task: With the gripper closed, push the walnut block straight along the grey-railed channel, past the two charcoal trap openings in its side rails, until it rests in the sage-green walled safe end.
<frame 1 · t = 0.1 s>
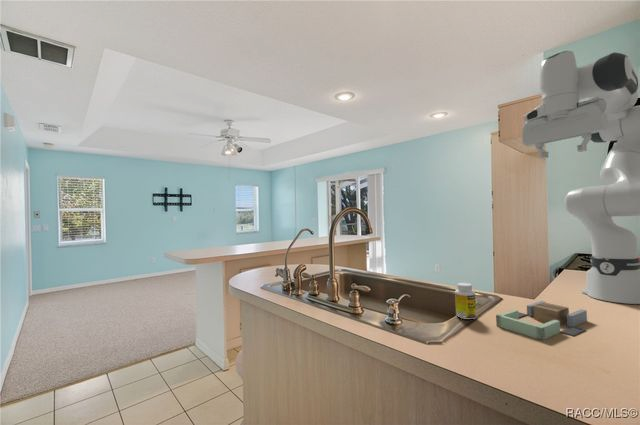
hand: (562, 154, 88), 48 cm above the counter, tool pointing down, fingers open, 8 cm apart
walnut block: (551, 320, 85), on the counter
supplement bottle: (466, 318, 90), on the counter
trap channel: (541, 323, 83), on the counter
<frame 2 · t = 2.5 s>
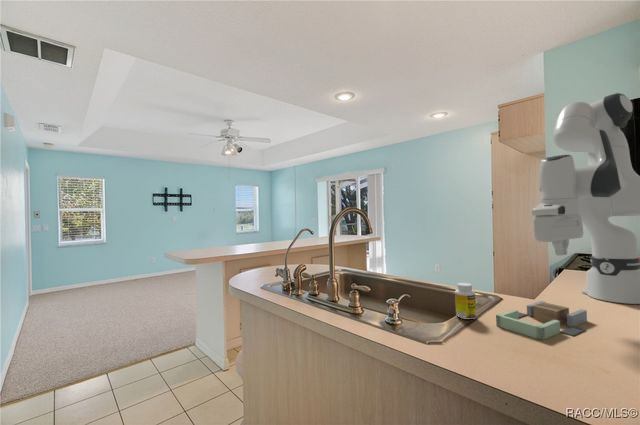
hand: (561, 255, 89), 18 cm above the counter, tool pointing down, fingers closed
nothing on the counter moved.
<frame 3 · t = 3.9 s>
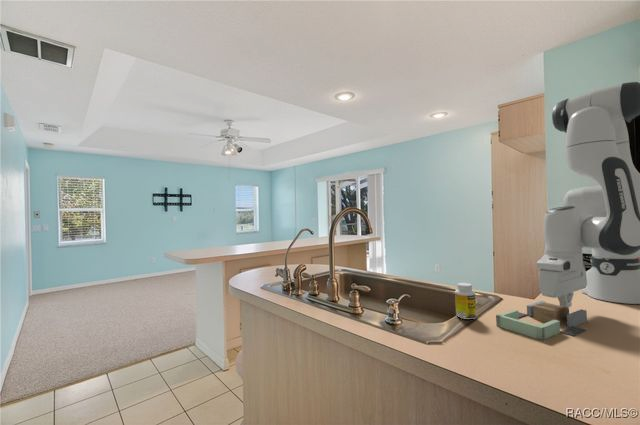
hand: (565, 307, 88), 2 cm above the counter, tool pointing down, fingers closed
nothing on the counter moved.
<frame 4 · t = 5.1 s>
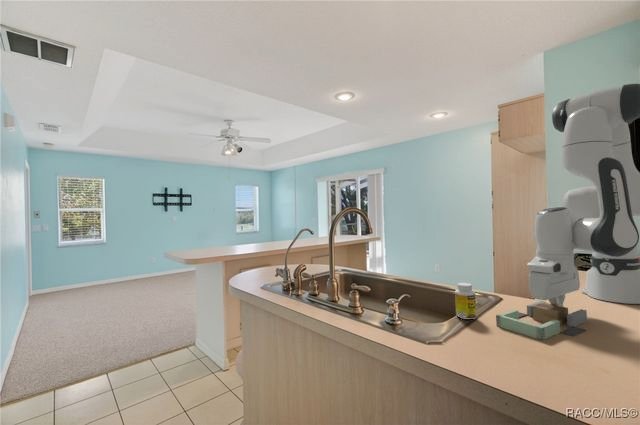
hand: (557, 309, 87), 2 cm above the counter, tool pointing down, fingers closed
walnut block: (550, 320, 85), on the counter, touching gripper
everything else where it was.
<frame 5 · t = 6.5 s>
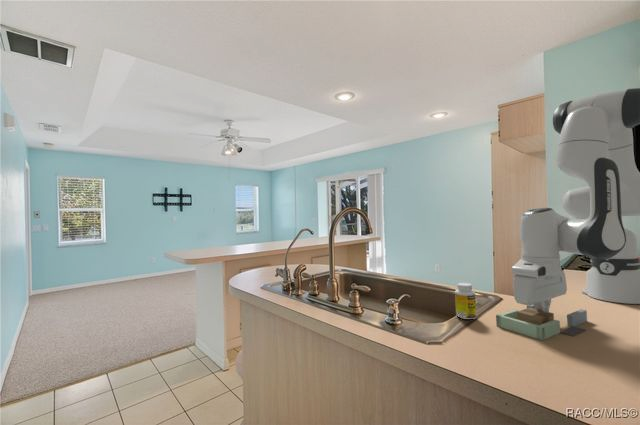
hand: (542, 315, 84), 2 cm above the counter, tool pointing down, fingers closed
walnut block: (535, 327, 81), on the counter, touching gripper
everything else where it was.
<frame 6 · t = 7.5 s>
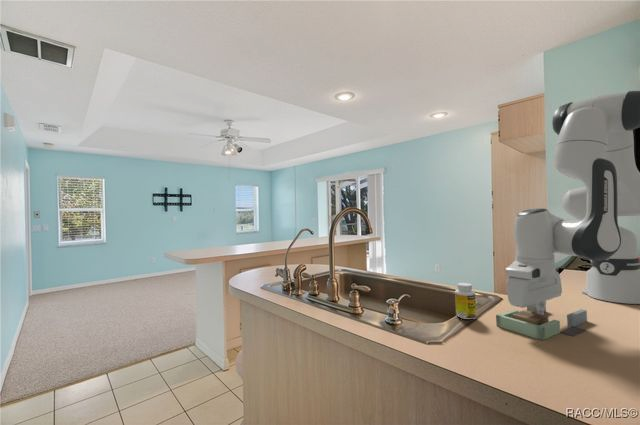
hand: (537, 317, 82), 2 cm above the counter, tool pointing down, fingers closed
walnut block: (530, 329, 80), on the counter
everything else where it was.
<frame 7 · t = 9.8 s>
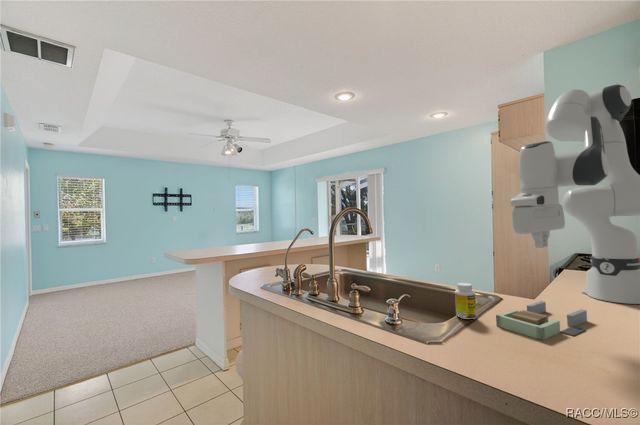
hand: (541, 247, 85), 21 cm above the counter, tool pointing down, fingers closed
nothing on the counter moved.
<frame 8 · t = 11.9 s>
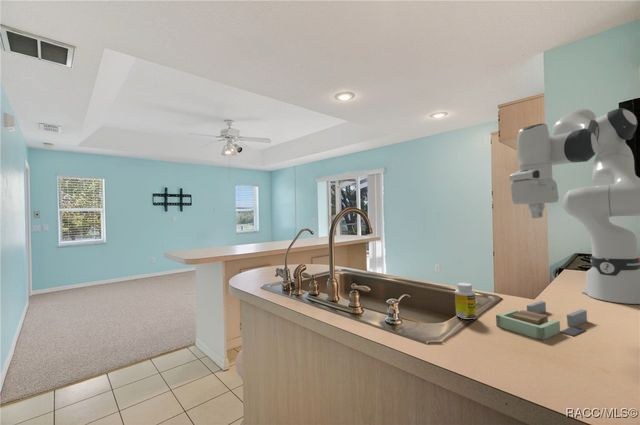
hand: (537, 217, 95), 29 cm above the counter, tool pointing down, fingers closed
nothing on the counter moved.
at the end: walnut block 0.5 cm from the target spot, on the counter; walnut block tilted 0°; walnut block moved 11.6 cm from its start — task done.
